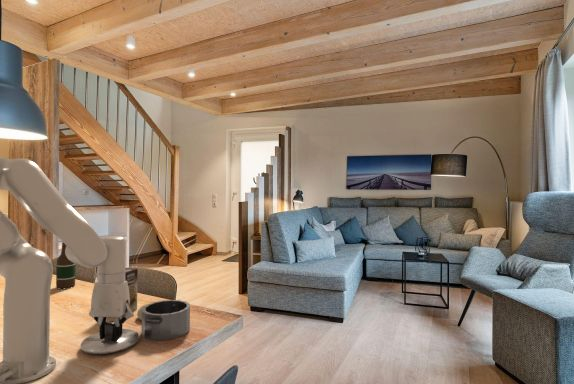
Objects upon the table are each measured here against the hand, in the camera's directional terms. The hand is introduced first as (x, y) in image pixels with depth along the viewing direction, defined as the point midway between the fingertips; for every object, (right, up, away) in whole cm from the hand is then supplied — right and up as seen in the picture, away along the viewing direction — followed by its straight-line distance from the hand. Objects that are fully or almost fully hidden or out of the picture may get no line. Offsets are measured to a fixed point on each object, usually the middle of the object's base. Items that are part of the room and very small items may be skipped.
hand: (110, 337), depth 104 cm
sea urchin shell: (+3, -3, +23) cm, 23 cm away
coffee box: (-10, -2, +28) cm, 30 cm away
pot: (+13, -2, +11) cm, 17 cm away
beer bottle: (-53, -2, +61) cm, 81 cm away
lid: (0, -2, 0) cm, 2 cm away
